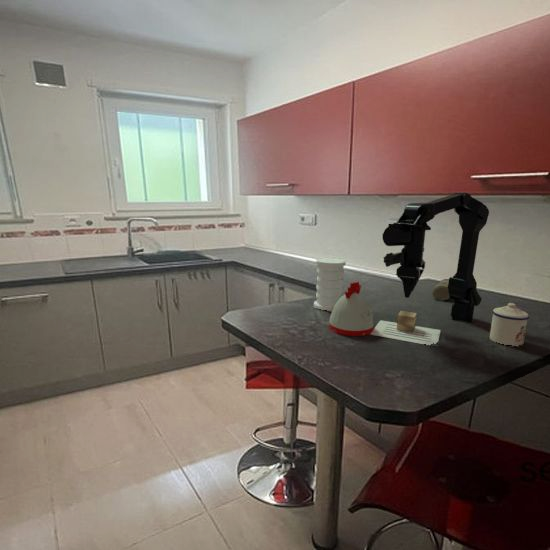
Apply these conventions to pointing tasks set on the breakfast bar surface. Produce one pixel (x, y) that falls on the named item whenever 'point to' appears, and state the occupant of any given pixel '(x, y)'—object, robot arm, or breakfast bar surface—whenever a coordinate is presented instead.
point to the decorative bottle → (441, 290)
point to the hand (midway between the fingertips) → (408, 294)
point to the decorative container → (329, 282)
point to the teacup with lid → (508, 325)
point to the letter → (406, 333)
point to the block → (406, 321)
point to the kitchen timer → (351, 314)
